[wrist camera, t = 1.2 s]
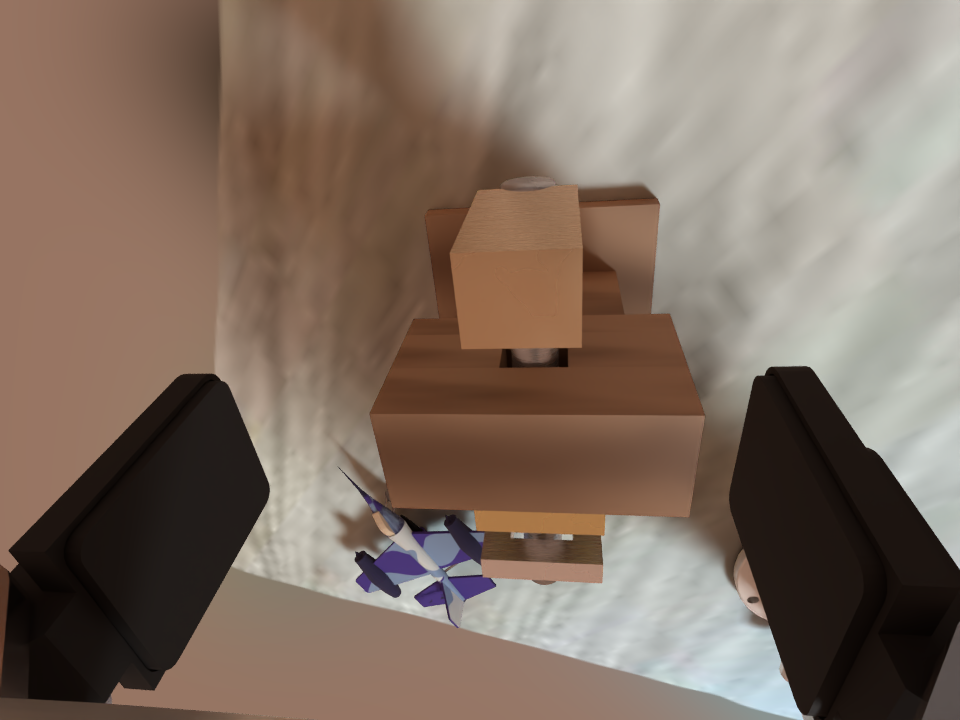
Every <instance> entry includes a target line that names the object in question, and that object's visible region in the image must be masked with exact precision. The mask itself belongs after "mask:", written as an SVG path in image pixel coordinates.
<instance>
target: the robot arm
mask: <svg viewBox="0 0 960 720" xmlns="http://www.w3.org/2000/svg"><path fill="white" fill-rule="evenodd" d="M269 492H270V488H269V482H268V480H267V477H266V475H265V473H264V470H263V468H262V465H261V463H260V460H259V458H258V456H257V453H256V451H255V448H254V446H253V443H252V441H251V439H250V436H249V434H248V431H247V429H246V427H245V424H244V422H243V419H242V417H241V414H240V412H239V410H238V407H237V405H236V402H235V400H234V397H233V395H232V393H231V390H230V388H229V386H228V384H226V383H225V382H223V381H221V380H220V378H219V377H218V376H216V375H214V374H183V375H180V376H179V377H177V378H176V379H175V380H174V381H173V382H172V383H171V384H170V385H169V386H168V387H167V388H166V389H165V391H163V392H162V394H161V395H160V396H159V397H158V398H157V399H156V400H155V401H154V402H153V403H152V404H151V405H150V406H149V407H148V408H147V409H146V410H145V411H144V412H143V413H142V414H141V415H140V416H139V417H138V418H137V419H136V420H135V421H134V422H133V423H132V424H131V425H130V426H129V427H128V429H126V430H125V431H124V432H123V434H122V435H121V436H120V437H119V438H118V439H117V440H116V441H115V442H114V443H113V444H112V445H111V446H110V447H109V448H108V449H107V450H106V451H105V452H104V453H103V454H102V455H101V456H100V457H99V458H98V459H97V460H96V461H95V462H94V463H93V464H92V465H91V466H90V467H89V468H88V469H87V470H86V471H85V473H83V474H82V476H81V477H80V478H79V479H78V480H77V481H76V482H75V483H74V484H73V485H72V486H71V487H70V488H69V489H68V490H67V491H66V492H65V493H64V494H63V495H62V496H61V497H60V498H59V499H58V500H57V501H56V502H55V503H54V504H53V505H52V506H51V507H50V508H49V509H48V510H47V511H46V512H45V513H44V515H43V516H42V517H41V518H40V519H39V520H38V521H37V522H36V523H35V524H34V525H33V526H32V527H31V528H30V529H29V530H28V531H27V532H26V533H25V534H24V535H23V536H22V537H21V538H20V539H19V540H18V541H17V542H16V543H15V544H14V545H13V546H12V547H11V548H10V549H9V552H10V553H11V554H12V556H13V557H14V558H15V559H16V560H17V562H18V563H19V564H18V565H17V566H16V567H15V568H14V569H13V570H12V571H11V573H10V572H9V571H8V570H7V569H6V568H4V567H3V566H2V565H0V720H312V719H299V718H287V717H274V716H262V715H249V714H236V713H222V712H210V711H196V710H183V709H170V708H156V707H144V706H130V705H116V704H112V700H111V693H112V692H113V690H114V688H115V687H116V685H117V684H118V682H120V683H121V685H122V686H123V687H124V688H129V689H141V690H155V688H156V687H157V685H158V683H159V681H160V680H161V678H162V676H163V674H164V673H165V671H166V670H168V669H170V668H172V667H173V666H174V665H175V664H176V662H177V661H178V659H179V658H180V656H181V654H182V653H183V651H184V649H185V647H186V645H187V644H188V642H189V640H190V638H191V637H192V635H193V633H194V631H195V629H196V628H197V626H198V624H199V622H200V620H201V619H202V617H203V615H204V613H205V612H206V610H207V608H208V606H209V605H210V603H211V601H212V599H213V597H214V596H215V594H216V592H217V590H218V589H219V587H220V585H221V583H222V581H223V580H224V578H225V576H226V574H227V573H228V571H229V569H230V567H231V565H232V564H233V562H234V560H235V558H236V557H237V555H238V553H239V551H240V549H241V548H242V546H243V544H244V542H245V541H246V539H247V537H248V535H249V533H250V532H251V530H252V528H253V526H254V525H255V523H256V521H257V519H258V517H259V516H260V514H261V512H262V510H263V509H264V507H265V505H266V503H267V501H268V498H269ZM729 502H730V509H731V513H732V516H733V519H734V522H735V525H736V528H737V531H738V534H739V537H740V540H741V543H742V546H743V549H742V551H741V552H740V553H739V555H738V557H737V560H736V562H735V565H734V574H733V576H734V580H735V584H736V588H737V591H738V594H739V596H740V599H741V600H742V601H743V603H744V604H745V605H746V606H747V608H749V609H750V610H751V611H752V612H754V613H755V614H756V615H758V616H760V617H761V618H763V619H765V620H767V621H768V623H769V626H770V629H771V631H772V634H773V637H774V640H775V643H776V646H777V649H778V652H779V655H780V658H781V664H780V667H779V670H780V673H781V675H782V677H783V678H784V679H785V680H786V681H788V682H789V685H790V688H791V691H792V693H793V696H794V699H795V702H796V704H797V707H798V709H799V710H800V712H801V713H802V716H803V719H804V720H960V569H959V568H958V566H957V565H956V564H955V562H954V561H953V559H952V558H951V556H950V555H949V554H948V552H947V551H946V549H945V548H944V546H943V545H942V544H941V542H940V541H939V539H938V538H937V536H936V535H935V534H934V532H933V531H932V529H931V528H930V526H929V525H928V524H927V522H926V521H925V519H924V518H923V516H922V515H921V514H920V512H919V511H918V509H917V508H916V506H915V505H914V504H913V502H912V501H911V499H910V498H909V496H908V495H907V493H906V492H905V491H904V489H903V488H902V486H901V485H900V483H899V482H898V481H897V479H896V478H895V476H894V475H893V473H892V472H891V471H890V469H889V468H888V466H887V465H886V463H885V462H884V461H883V459H882V458H881V457H880V456H879V455H878V454H877V453H876V452H875V451H874V450H872V449H870V448H866V447H865V446H864V444H863V443H862V441H861V440H860V438H859V437H858V435H857V434H856V432H855V431H854V430H853V428H852V427H851V425H850V424H849V422H848V421H847V419H846V418H845V416H844V415H843V413H842V412H841V410H840V409H839V407H838V406H837V405H836V403H835V402H834V400H833V399H832V397H831V396H830V394H829V393H828V391H827V390H826V388H825V387H824V385H823V384H822V383H821V381H820V380H819V378H818V377H817V375H816V374H815V372H814V371H813V370H812V369H811V368H810V367H807V366H791V367H770V368H768V370H767V371H766V373H765V376H756V377H755V379H754V381H753V385H752V390H751V394H750V399H749V404H748V408H747V413H746V418H745V422H744V427H743V432H742V436H741V441H740V445H739V450H738V455H737V459H736V464H735V469H734V473H733V478H732V483H731V487H730V493H729Z"/></svg>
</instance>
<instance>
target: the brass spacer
mask: <svg viewBox="0 0 960 720" xmlns="http://www.w3.org/2000/svg"><path fill="white" fill-rule="evenodd" d="M474 514H475V521H476V529H477V531H494V532H521V533H549V534H576V535H603V536H604V531H605V515H604V514H573V513H542V512H510V511H479V510H474Z"/></svg>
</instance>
